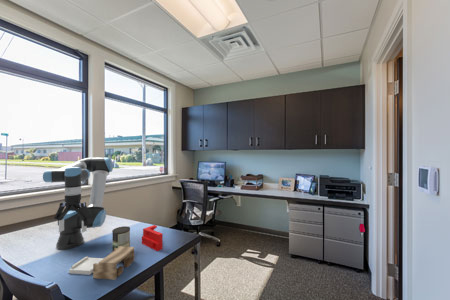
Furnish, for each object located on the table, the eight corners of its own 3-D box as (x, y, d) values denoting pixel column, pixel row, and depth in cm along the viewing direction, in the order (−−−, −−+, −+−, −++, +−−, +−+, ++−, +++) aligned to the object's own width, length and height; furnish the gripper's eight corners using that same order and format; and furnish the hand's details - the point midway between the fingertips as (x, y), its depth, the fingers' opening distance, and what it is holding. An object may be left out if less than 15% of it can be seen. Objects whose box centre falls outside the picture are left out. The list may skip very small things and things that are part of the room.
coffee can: (109, 255, 123) (109, 232, 123) (116, 247, 133) (116, 226, 133) (126, 254, 124) (126, 232, 124) (132, 246, 134) (132, 226, 134)
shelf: (93, 278, 101) (93, 262, 101) (115, 259, 118) (115, 246, 118) (115, 279, 99) (115, 263, 99) (134, 261, 116) (134, 247, 116)
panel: (68, 274, 105) (68, 267, 105) (86, 261, 117) (86, 255, 117) (89, 275, 103) (89, 268, 104) (105, 262, 115) (105, 256, 115)
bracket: (141, 229, 138) (154, 224, 147) (141, 244, 138) (154, 238, 146) (157, 235, 128) (170, 230, 136) (157, 251, 128) (170, 245, 136)
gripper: (46, 195, 110) (45, 233, 110) (89, 195, 108) (88, 234, 108) (58, 192, 117) (57, 228, 117) (98, 193, 116) (98, 229, 116)
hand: (72, 231), depth 113 cm, fingers open, 13 cm apart
